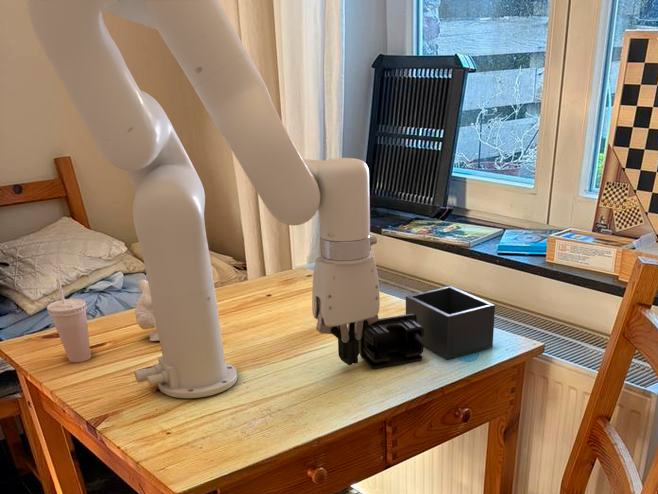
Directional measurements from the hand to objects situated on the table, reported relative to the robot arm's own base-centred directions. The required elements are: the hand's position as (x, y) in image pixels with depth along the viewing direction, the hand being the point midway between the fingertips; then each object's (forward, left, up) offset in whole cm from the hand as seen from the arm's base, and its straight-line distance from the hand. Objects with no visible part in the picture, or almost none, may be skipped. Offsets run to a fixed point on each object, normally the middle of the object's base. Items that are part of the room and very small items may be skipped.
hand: (349, 361), depth 123 cm
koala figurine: (-22, +32, -2) cm, 39 cm away
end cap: (+8, 0, -2) cm, 8 cm away
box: (+20, 0, -1) cm, 20 cm away
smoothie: (-37, +31, -2) cm, 48 cm away
